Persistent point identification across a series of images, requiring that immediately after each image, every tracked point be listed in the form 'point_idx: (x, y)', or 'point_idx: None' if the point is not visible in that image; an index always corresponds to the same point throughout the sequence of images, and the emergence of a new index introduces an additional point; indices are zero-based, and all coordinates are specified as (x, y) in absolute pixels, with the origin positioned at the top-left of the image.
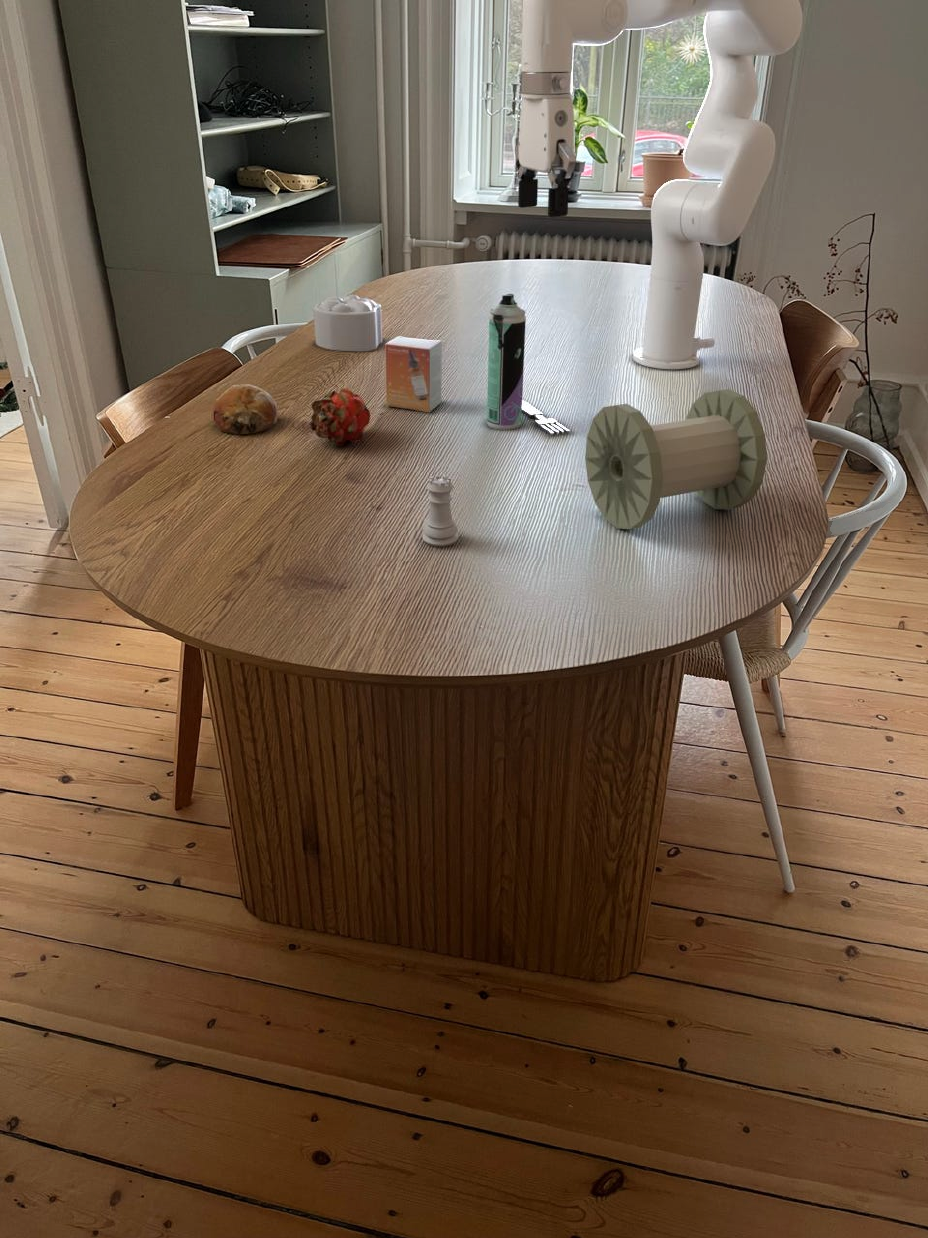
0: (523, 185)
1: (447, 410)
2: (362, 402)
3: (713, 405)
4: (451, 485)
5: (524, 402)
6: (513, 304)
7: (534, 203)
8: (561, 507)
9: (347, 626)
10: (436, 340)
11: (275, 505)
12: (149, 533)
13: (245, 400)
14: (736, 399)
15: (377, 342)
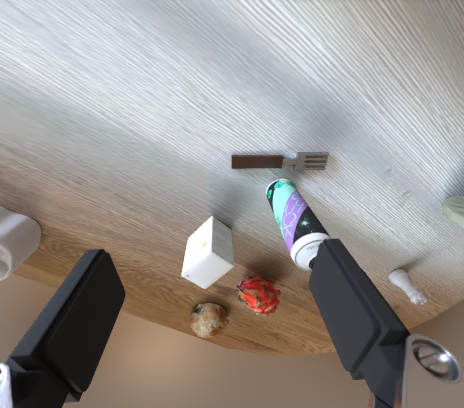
0: (90, 366)
1: (231, 217)
2: (262, 292)
3: None
4: (424, 296)
5: (250, 158)
6: None
7: (107, 263)
8: (417, 216)
9: (420, 310)
10: (208, 254)
11: (317, 314)
12: (313, 343)
13: (220, 330)
14: None
15: (14, 215)
